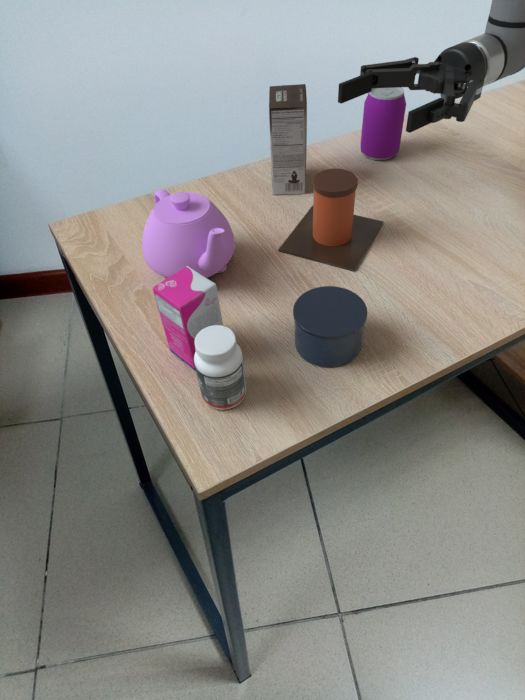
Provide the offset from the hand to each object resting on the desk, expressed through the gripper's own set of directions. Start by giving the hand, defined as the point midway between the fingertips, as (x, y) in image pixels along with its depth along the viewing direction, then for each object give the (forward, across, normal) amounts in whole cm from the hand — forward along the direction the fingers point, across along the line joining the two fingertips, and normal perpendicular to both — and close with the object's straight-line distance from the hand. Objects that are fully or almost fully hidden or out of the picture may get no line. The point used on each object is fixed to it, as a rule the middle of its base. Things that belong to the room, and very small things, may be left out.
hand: (372, 107), depth 76 cm
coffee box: (+1, +18, -19) cm, 27 cm away
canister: (+7, 0, -19) cm, 20 cm away
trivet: (+7, 0, -19) cm, 20 cm away
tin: (+23, -17, -19) cm, 35 cm away
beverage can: (-20, +15, -19) cm, 31 cm away
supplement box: (+38, -7, -20) cm, 43 cm away
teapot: (+28, +8, -20) cm, 35 cm away
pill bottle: (+39, -15, -20) cm, 46 cm away
